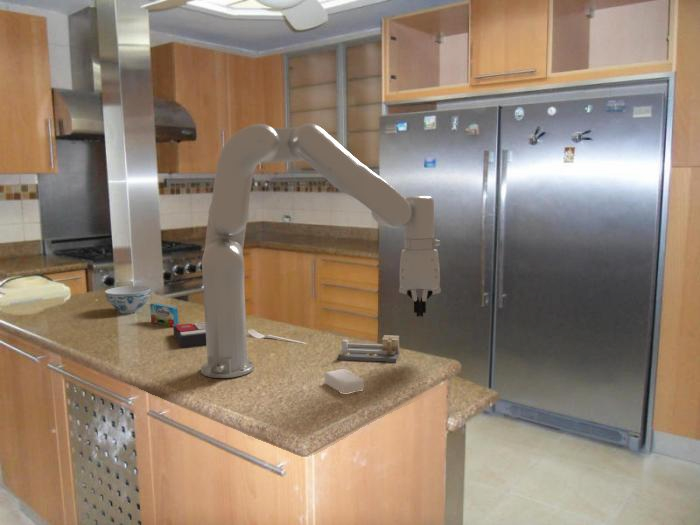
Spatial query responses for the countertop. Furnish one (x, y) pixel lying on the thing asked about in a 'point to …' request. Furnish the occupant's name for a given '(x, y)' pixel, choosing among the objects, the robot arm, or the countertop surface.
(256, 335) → the fork
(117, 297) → the chinaware
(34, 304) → the countertop surface
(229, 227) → the robot arm
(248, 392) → the countertop surface
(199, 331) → the calculator
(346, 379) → the soap
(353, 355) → the switch panel
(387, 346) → the tan slider block
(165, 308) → the blue thin box
